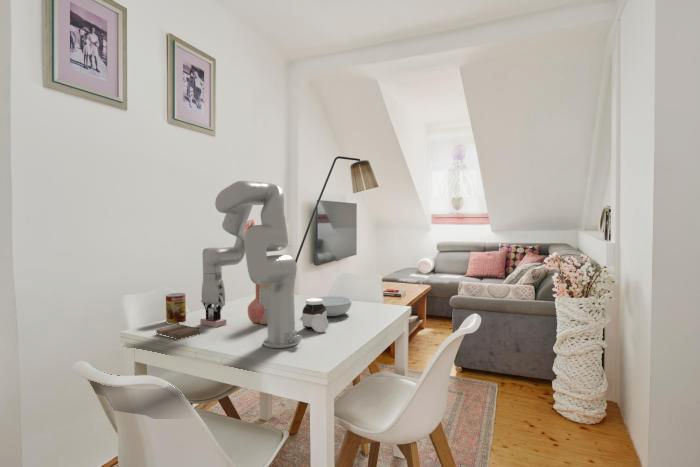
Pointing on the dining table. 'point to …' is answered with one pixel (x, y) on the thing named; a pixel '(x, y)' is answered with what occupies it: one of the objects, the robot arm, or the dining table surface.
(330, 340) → the dining table surface
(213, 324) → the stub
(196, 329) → the brown flat block
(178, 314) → the canned food
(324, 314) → the spread jar
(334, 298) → the serving bowl
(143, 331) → the dining table surface
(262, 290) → the cracker box
